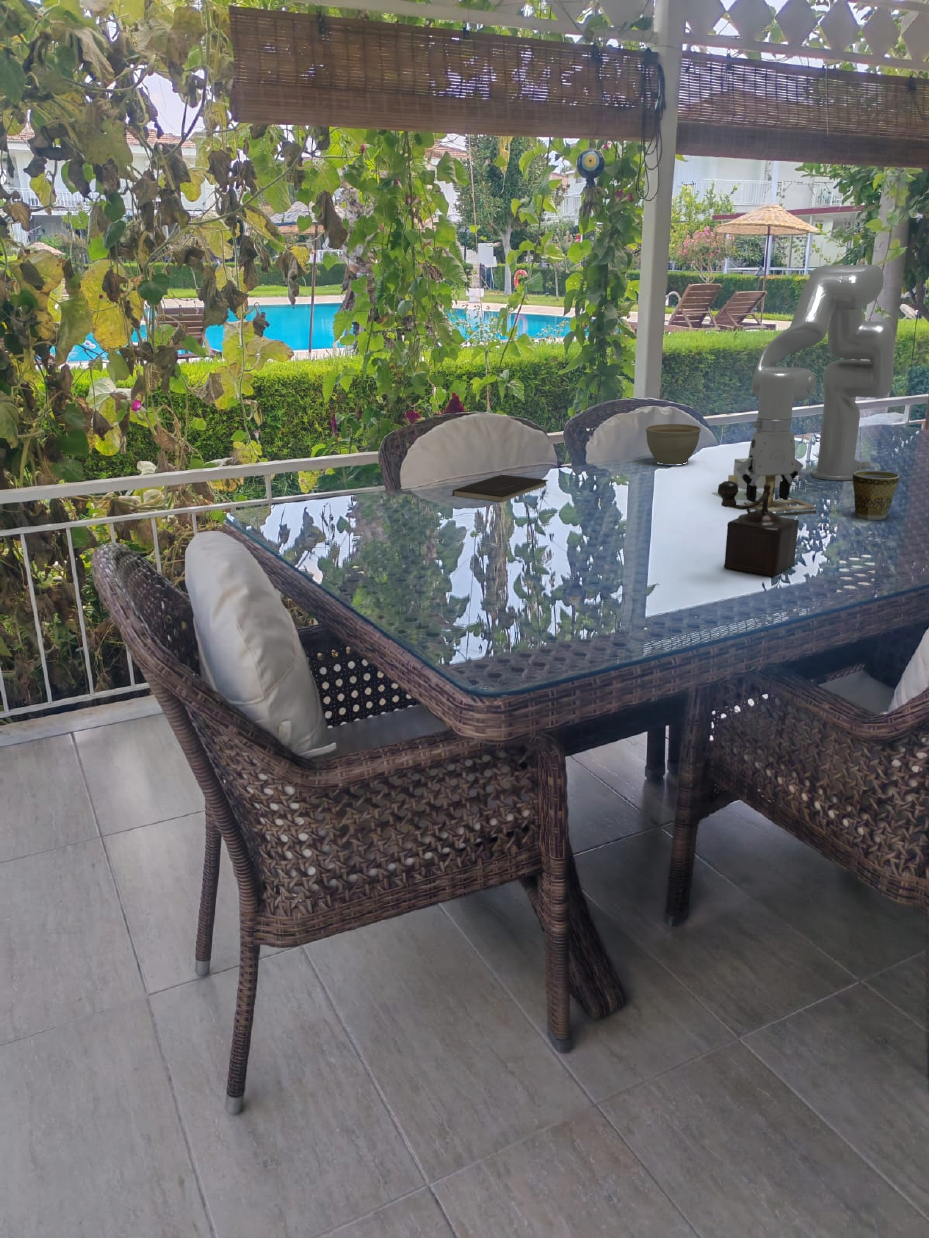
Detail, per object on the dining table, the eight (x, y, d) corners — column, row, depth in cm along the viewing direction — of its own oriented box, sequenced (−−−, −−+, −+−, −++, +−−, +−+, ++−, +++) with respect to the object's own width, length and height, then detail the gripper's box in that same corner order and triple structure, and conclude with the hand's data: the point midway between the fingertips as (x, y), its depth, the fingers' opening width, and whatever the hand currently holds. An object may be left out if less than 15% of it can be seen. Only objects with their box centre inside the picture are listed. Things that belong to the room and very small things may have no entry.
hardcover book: (547, 488, 260) (547, 479, 259) (502, 504, 243) (502, 495, 242) (499, 482, 269) (499, 474, 268) (452, 497, 251) (452, 489, 251)
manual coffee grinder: (743, 556, 192) (750, 468, 186) (796, 565, 185) (805, 475, 179) (707, 574, 181) (713, 481, 175) (761, 585, 174) (770, 489, 168)
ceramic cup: (898, 522, 214) (904, 479, 211) (851, 521, 216) (857, 478, 213) (886, 509, 226) (891, 468, 223) (842, 508, 228) (847, 467, 225)
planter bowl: (635, 461, 292) (636, 425, 288) (681, 457, 296) (683, 422, 293) (660, 470, 277) (662, 433, 274) (708, 466, 282) (711, 429, 278)
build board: (796, 505, 232) (796, 498, 232) (816, 513, 224) (816, 506, 223) (743, 509, 230) (744, 502, 229) (761, 517, 221) (762, 510, 221)
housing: (766, 486, 253) (769, 456, 251) (780, 491, 247) (782, 461, 244) (732, 488, 251) (734, 459, 249) (744, 494, 245) (747, 463, 242)
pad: (753, 494, 244) (755, 470, 242) (771, 502, 236) (773, 477, 234) (710, 497, 242) (712, 473, 240) (726, 505, 234) (728, 480, 232)
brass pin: (768, 510, 228) (772, 474, 225) (773, 513, 225) (777, 475, 222) (759, 511, 227) (763, 474, 224) (764, 513, 225) (768, 476, 222)
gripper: (746, 430, 214) (740, 505, 220) (816, 426, 217) (808, 501, 223) (731, 425, 221) (726, 499, 227) (799, 421, 224) (792, 494, 230)
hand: (767, 499), depth 225 cm, fingers open, 7 cm apart
